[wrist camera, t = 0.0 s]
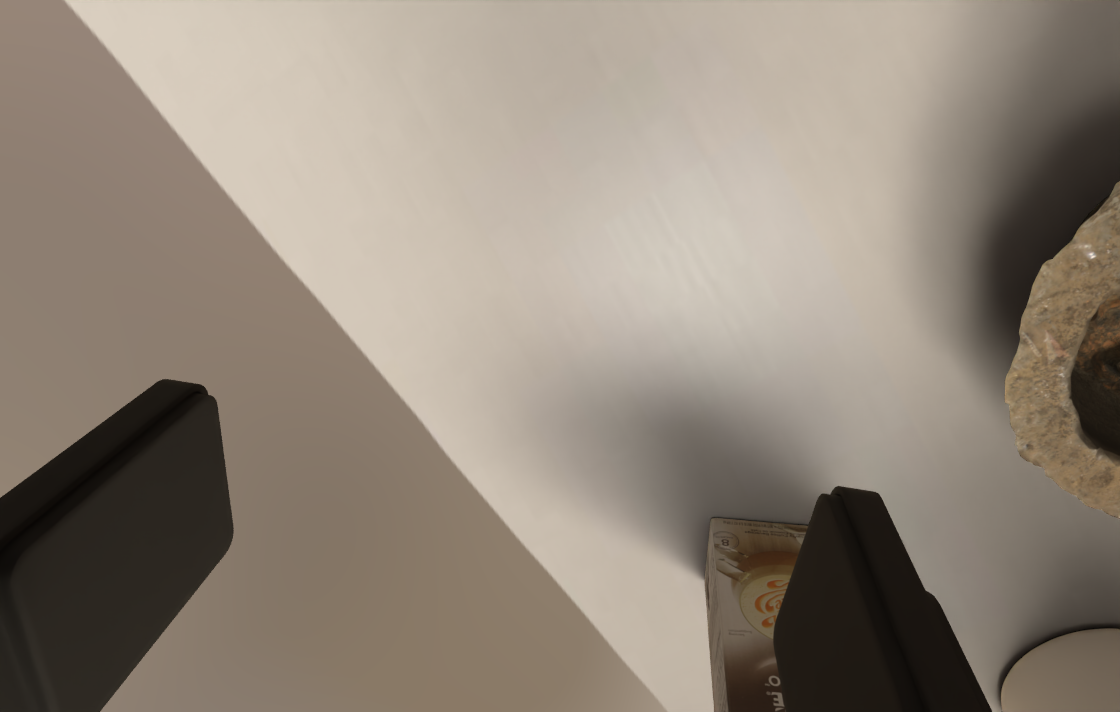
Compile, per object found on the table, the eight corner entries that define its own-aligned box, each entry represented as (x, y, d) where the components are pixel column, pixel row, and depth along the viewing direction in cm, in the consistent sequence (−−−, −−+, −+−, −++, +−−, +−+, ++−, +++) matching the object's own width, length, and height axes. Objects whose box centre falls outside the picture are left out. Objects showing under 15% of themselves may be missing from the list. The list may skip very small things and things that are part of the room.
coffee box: (844, 524, 47) (927, 743, 33) (829, 594, 50) (899, 825, 36) (707, 514, 49) (730, 724, 34) (700, 584, 51) (718, 804, 37)
